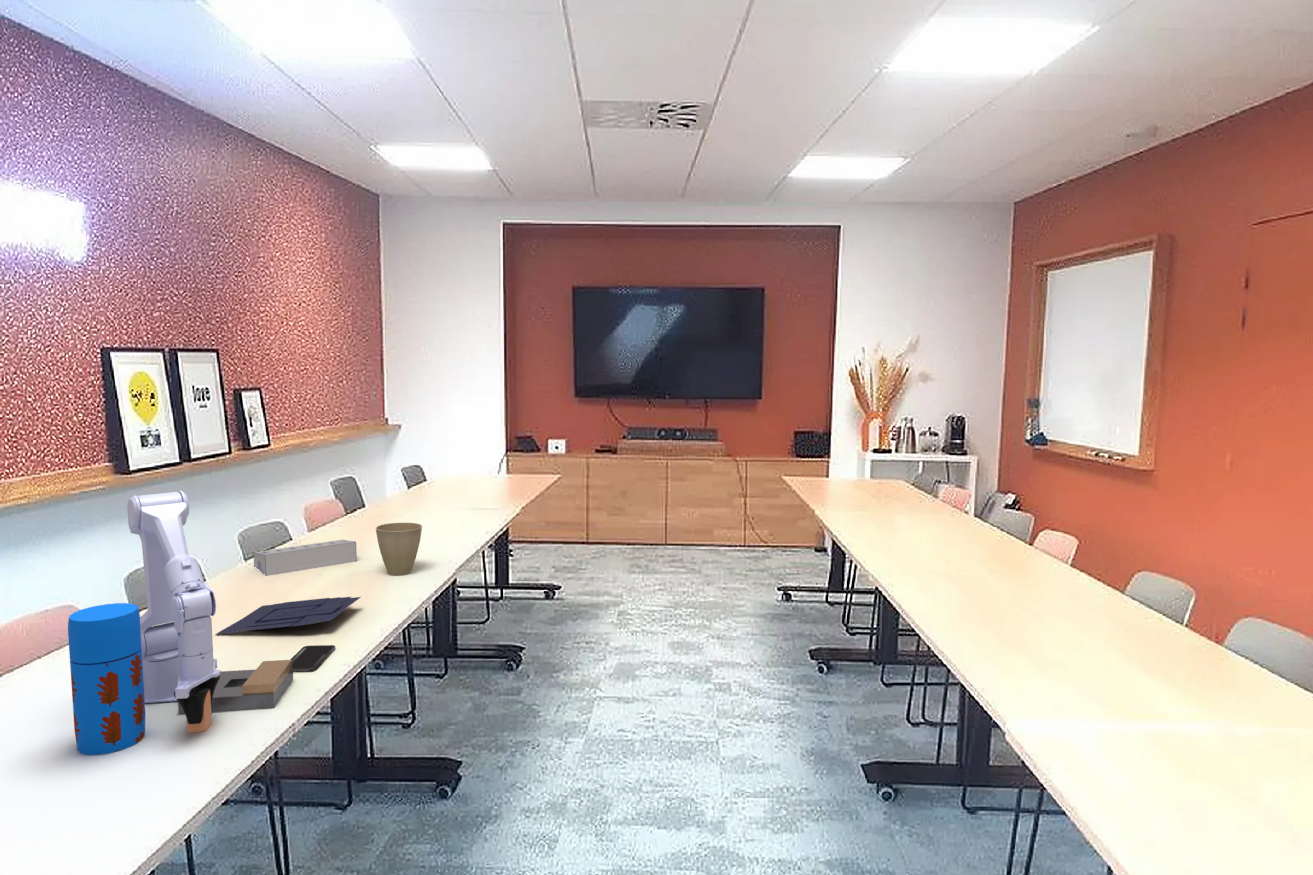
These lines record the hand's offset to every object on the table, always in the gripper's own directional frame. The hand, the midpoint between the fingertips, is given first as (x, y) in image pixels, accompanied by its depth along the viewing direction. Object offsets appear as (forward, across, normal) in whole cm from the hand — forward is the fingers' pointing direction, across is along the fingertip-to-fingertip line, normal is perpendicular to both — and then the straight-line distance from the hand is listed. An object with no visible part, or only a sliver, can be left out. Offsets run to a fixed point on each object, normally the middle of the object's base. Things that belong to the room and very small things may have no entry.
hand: (199, 718), depth 149 cm
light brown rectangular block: (+2, 0, 0) cm, 2 cm away
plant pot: (+2, +109, -22) cm, 111 cm away
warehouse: (+2, +125, +12) cm, 125 cm away
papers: (+2, +63, 0) cm, 63 cm away
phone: (+2, +33, -12) cm, 35 cm away
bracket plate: (+2, +14, -2) cm, 14 cm away
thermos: (+2, -3, +14) cm, 14 cm away
